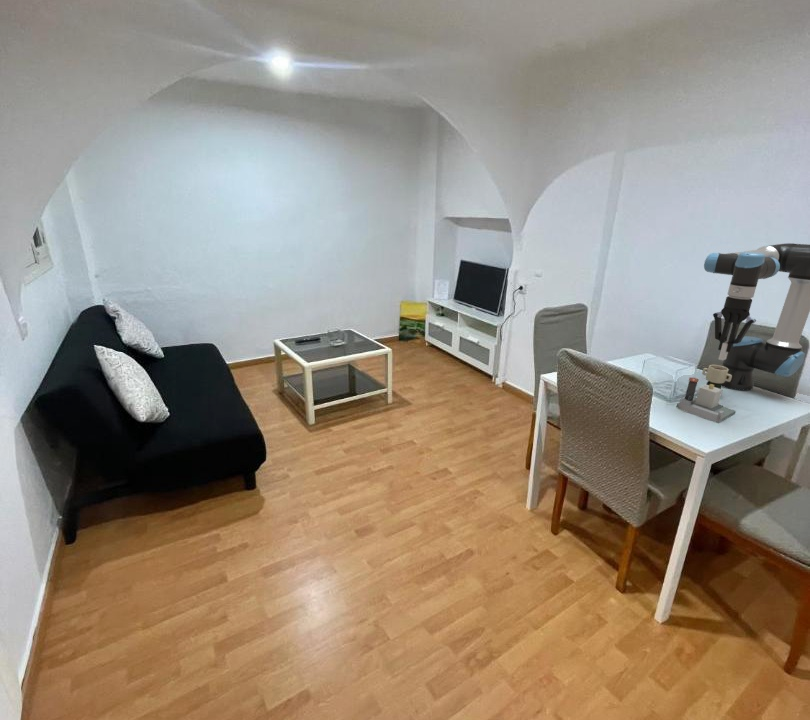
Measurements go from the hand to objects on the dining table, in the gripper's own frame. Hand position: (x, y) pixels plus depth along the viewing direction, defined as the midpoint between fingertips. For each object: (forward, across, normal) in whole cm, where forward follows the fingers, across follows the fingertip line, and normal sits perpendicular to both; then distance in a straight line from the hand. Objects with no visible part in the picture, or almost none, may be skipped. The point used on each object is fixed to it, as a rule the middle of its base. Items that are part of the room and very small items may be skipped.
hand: (722, 359), depth 161 cm
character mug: (+25, -9, +26) cm, 37 cm away
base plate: (+24, -3, +6) cm, 25 cm away
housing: (+23, -4, +9) cm, 25 cm away
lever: (+21, -7, 0) cm, 22 cm away
